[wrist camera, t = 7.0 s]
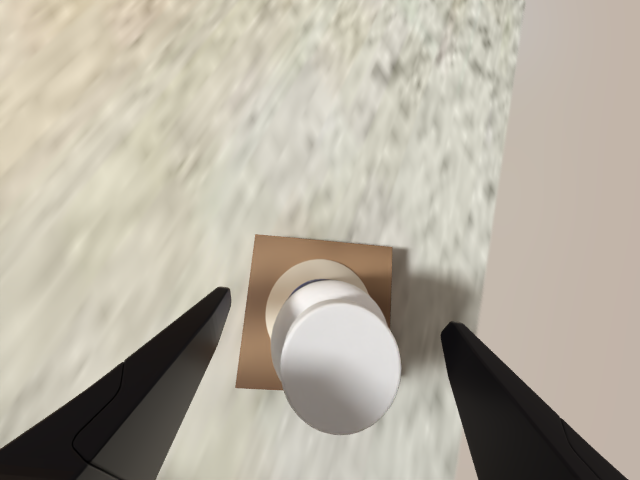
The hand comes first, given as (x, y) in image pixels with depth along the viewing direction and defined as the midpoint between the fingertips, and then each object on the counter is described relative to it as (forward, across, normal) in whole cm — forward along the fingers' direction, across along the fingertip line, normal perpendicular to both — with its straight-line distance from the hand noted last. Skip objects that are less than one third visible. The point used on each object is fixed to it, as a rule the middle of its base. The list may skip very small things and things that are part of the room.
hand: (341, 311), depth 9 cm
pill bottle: (+5, 0, +7) cm, 8 cm away
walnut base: (+7, 0, +9) cm, 11 cm away
